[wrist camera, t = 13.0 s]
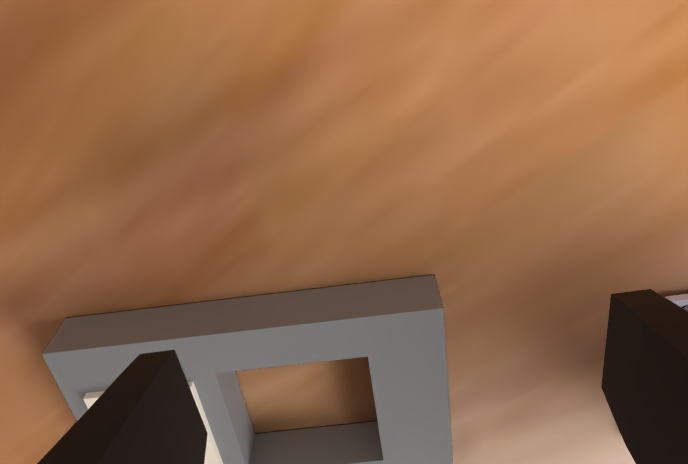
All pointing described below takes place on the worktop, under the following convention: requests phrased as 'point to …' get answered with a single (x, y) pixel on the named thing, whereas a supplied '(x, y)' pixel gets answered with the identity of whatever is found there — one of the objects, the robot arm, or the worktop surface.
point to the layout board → (281, 350)
